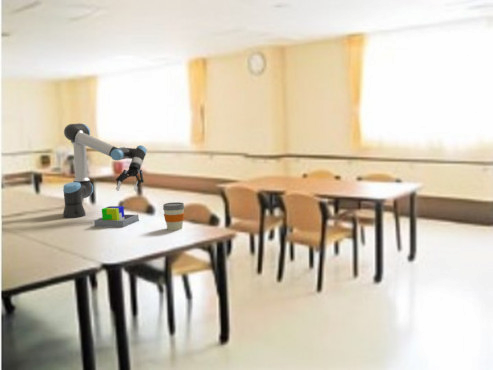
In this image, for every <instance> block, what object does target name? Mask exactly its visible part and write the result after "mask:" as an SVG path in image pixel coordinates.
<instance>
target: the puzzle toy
mask: <svg viewBox="0 0 493 370" xmlns="http://www.w3.org/2000/svg"><path fill="white" fill-rule="evenodd" d="M124 208H125V207H124V206H120V205H119V206H118V205H117V206H116V205H115V206H114V205H113V206H112V205H111V206H109V205H108V206H107V207H103V208H101V216H102V217H101V218H102V220H125V219H124V215H125V211H124V210H125V209H124Z"/></svg>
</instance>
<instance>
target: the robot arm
mask: <svg viewBox="0 0 493 370" xmlns="http://www.w3.org/2000/svg"><path fill="white" fill-rule="evenodd" d="M63 130H64V131H63V134H64V135H63V136H64V137H65V139H67V140H69V141H70V143H71V144H72V145H73V159H74V174H75V175H74V177H75V178H74V179H73V181H71V182H67V183H65V184H63V200H64V209H63V213H62V216H63V217H62V218H65V219H75V218H81V217H85V216H86V210H85V208H84V206H83V199H87V198H89V197H90V196H91V195H92V194H93V192H94V186H93V184H92V183H91V179H90V178H89V174H88V159H87V158H88V157H87V147H88V148H90V149H92V150H95V151H97V152H99V153H101V154H104V155H106V156H108V157H110V158H111V159H112V160H113V161H121V160H126V159H129V160H131V161H130V163H129V167H128V170H126V169H123V171H122V172H121V173H120V174H119V175H118V176H117V178H116V179H115V181H116V187H115V190H116V191H117V192H118V191H120V188H121V186H122V182H124V181H125V180H126V179H128V178H133V177H135V178H136V180H137V181H136V182H135V185H134V187H133V190H134V191H135V192H137V190H138V188H139V187H140V185H141V183H145V180H144V177H143V175H144V174H143V173H144V171H143V170H142V169H141V168H142V166H143V162H144V159H145V158H146V157H145V156H146V155H147V152H148V151H147V150H148V149H147V148H146V146H144V145H137V146H136V148H134V147H133V148H132V147H125V146H123V147H117V146H115V145H112V144H110V143H107V142H105V141H103V140H100V139H99V138H96V137H94V136H92V135H91V130H90V128H89V126H88V125H87V124H84V123H69V124H67V125H66V126H65V127H64V129H63ZM138 174H139V176H138Z"/></svg>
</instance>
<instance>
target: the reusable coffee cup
mask: <svg viewBox="0 0 493 370" xmlns="http://www.w3.org/2000/svg"><path fill="white" fill-rule="evenodd" d="M162 208H163V209H162V210H163V212H164V213H163V217H164V221H165V223H166V229H167V230H168V231H178V230H179V229H180V230H182V229H183V223H184V220H185V218H184V217H185V212H184V211H185V210H184V209H185V205H184V202H174V201H173V202H166V203H163V207H162ZM180 230H179V231H180Z"/></svg>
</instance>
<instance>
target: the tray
mask: <svg viewBox="0 0 493 370" xmlns="http://www.w3.org/2000/svg"><path fill="white" fill-rule="evenodd" d="M124 219H125V220H102V217H99V218H97V219H94V220H93V223H94V228H95V227H96V228H97V227H102V228H125V227H127V226H131V225H132V224H134V223H136V222H139V221H140V220H139V214H124Z"/></svg>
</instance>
